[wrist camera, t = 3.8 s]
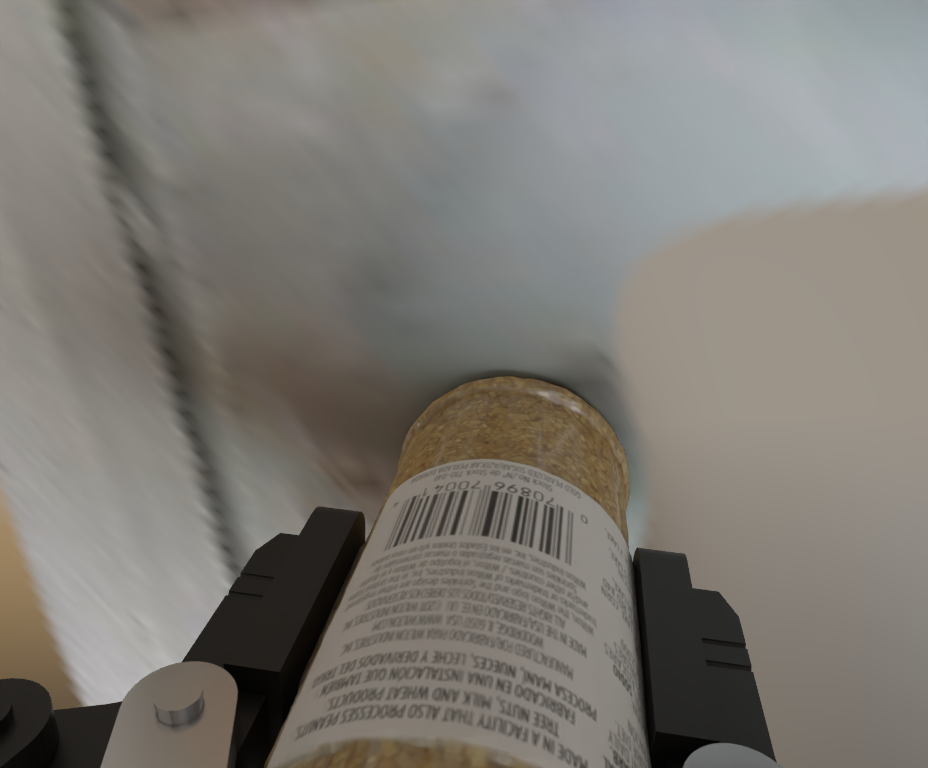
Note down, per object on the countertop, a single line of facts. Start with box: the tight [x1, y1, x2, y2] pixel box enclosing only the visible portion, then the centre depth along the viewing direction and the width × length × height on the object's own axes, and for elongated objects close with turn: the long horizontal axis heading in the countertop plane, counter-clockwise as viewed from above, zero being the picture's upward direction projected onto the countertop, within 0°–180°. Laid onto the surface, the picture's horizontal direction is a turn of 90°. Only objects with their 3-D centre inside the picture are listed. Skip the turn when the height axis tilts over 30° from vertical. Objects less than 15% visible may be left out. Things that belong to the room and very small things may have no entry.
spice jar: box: [264, 376, 651, 768], centre depth 9 cm, size 5×5×14 cm
